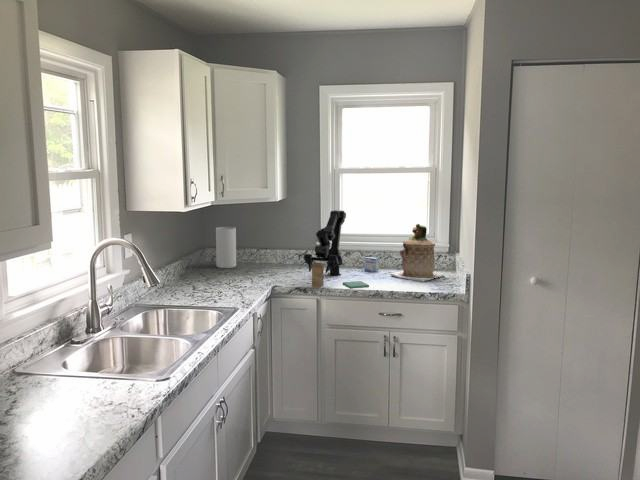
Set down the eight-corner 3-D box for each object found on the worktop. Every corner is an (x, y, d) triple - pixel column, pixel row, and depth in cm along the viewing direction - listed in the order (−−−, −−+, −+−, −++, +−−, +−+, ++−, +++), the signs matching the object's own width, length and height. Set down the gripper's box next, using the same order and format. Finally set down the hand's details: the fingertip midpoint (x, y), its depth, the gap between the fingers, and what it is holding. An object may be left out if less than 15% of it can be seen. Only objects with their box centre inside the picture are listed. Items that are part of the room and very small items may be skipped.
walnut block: (314, 284, 301) (314, 262, 299) (323, 285, 300) (323, 263, 298) (311, 286, 296) (312, 264, 295) (320, 287, 295) (320, 264, 293)
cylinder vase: (213, 268, 346) (212, 228, 343) (220, 264, 359) (219, 226, 355) (232, 268, 344) (232, 229, 341) (238, 265, 357) (238, 227, 353)
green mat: (342, 283, 304) (342, 282, 304) (360, 282, 308) (360, 280, 308) (350, 288, 294) (350, 286, 294) (369, 286, 298) (369, 285, 297)
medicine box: (364, 271, 340) (364, 257, 339) (366, 270, 344) (367, 256, 343) (376, 272, 336) (376, 258, 335) (378, 271, 340) (379, 257, 339)
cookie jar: (446, 276, 326) (448, 223, 322) (423, 283, 309) (425, 226, 304) (411, 270, 343) (413, 220, 339) (388, 276, 325) (389, 223, 321)
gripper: (304, 239, 302) (298, 262, 293) (337, 241, 297) (331, 264, 288) (309, 251, 311) (302, 274, 302) (340, 253, 305) (335, 276, 296)
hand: (317, 272), depth 297 cm, fingers open, 9 cm apart
